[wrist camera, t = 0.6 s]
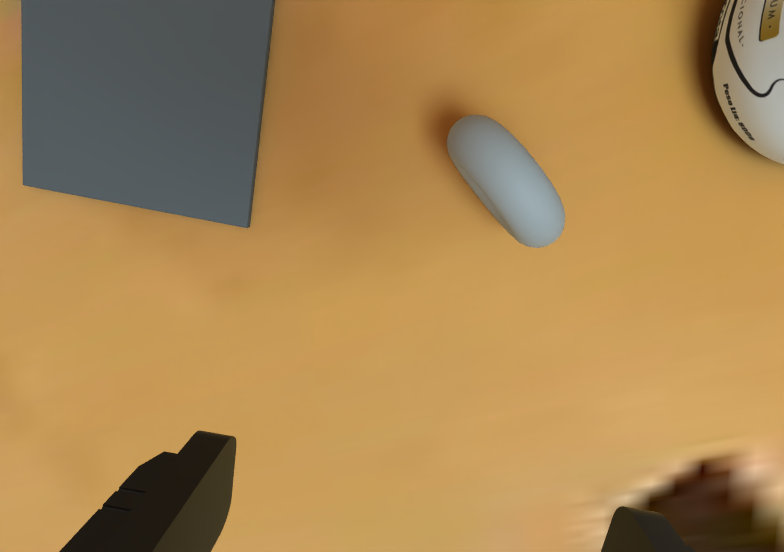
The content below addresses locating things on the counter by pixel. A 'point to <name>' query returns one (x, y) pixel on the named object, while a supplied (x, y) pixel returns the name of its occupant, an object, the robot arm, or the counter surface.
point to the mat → (146, 102)
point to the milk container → (752, 72)
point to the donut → (506, 180)
